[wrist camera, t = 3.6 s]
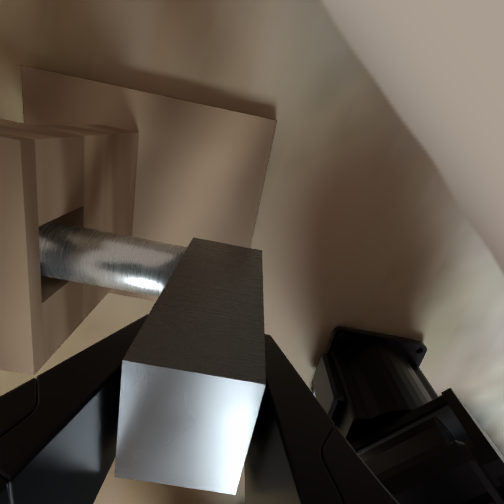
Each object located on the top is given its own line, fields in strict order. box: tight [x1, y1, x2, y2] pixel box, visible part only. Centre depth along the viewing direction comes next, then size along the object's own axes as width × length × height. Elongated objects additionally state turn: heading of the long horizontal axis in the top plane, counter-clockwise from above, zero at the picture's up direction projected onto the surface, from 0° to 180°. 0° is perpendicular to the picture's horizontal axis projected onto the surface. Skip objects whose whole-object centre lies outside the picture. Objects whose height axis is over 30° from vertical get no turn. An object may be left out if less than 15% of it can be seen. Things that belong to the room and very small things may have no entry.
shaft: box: [39, 221, 266, 495], centre depth 9 cm, size 10×3×8 cm, turn 79°
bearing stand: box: [0, 65, 277, 375], centre depth 15 cm, size 13×12×10 cm
